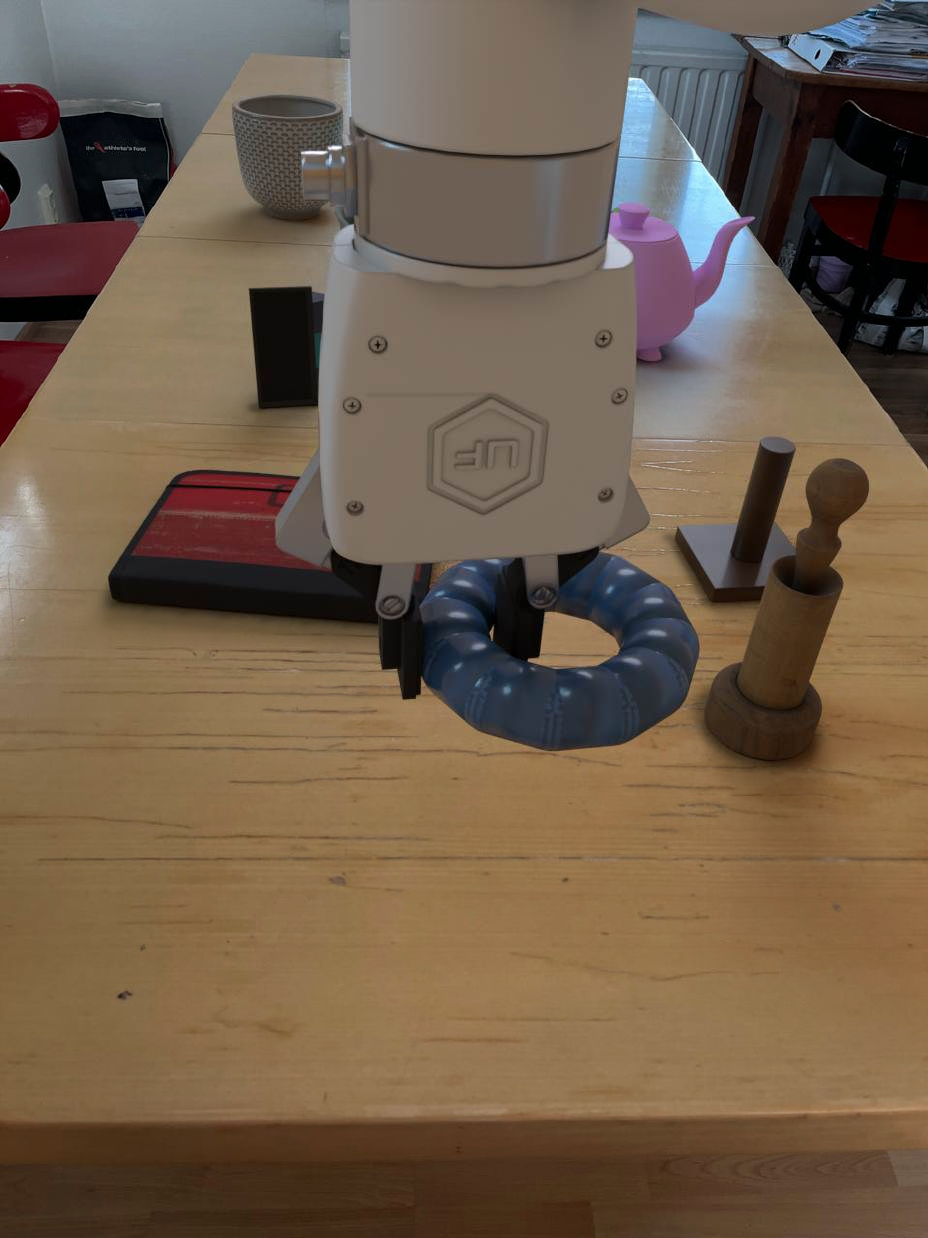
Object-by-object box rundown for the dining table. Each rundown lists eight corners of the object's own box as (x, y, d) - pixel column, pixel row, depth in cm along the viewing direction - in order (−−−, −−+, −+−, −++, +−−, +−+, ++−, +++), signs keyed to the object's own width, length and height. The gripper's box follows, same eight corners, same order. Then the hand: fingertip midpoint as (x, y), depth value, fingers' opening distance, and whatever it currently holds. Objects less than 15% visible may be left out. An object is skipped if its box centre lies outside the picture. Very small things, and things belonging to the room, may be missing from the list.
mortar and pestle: (745, 672, 65) (824, 421, 54) (833, 727, 61) (938, 470, 50) (682, 717, 61) (753, 457, 50) (772, 779, 57) (870, 514, 46)
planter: (255, 232, 126) (247, 120, 118) (227, 200, 136) (219, 94, 128) (359, 224, 131) (359, 116, 123) (325, 193, 141) (323, 91, 133)
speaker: (320, 412, 89) (313, 293, 83) (257, 408, 89) (245, 290, 84) (338, 383, 95) (333, 271, 90) (279, 380, 96) (270, 268, 90)
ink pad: (426, 600, 65) (104, 574, 65) (424, 629, 66) (109, 603, 66) (444, 483, 78) (175, 461, 78) (442, 509, 79) (179, 488, 79)
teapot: (712, 319, 113) (740, 191, 104) (739, 379, 100) (774, 239, 92) (517, 306, 112) (530, 176, 103) (520, 364, 100) (535, 223, 91)
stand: (816, 596, 72) (859, 472, 66) (711, 602, 71) (745, 476, 64) (771, 534, 78) (807, 415, 72) (674, 538, 77) (702, 418, 70)
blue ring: (730, 751, 38) (748, 692, 36) (435, 780, 36) (438, 719, 34) (640, 578, 46) (650, 523, 44) (398, 594, 44) (399, 537, 43)
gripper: (182, 237, 25) (248, 758, 36) (804, 232, 27) (684, 719, 39) (194, 159, 31) (248, 629, 42) (706, 161, 33) (627, 602, 45)
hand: (457, 668), depth 40 cm, fingers closed on blue ring, 3 cm apart
